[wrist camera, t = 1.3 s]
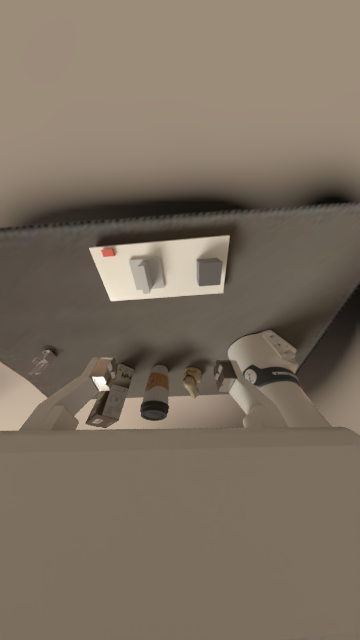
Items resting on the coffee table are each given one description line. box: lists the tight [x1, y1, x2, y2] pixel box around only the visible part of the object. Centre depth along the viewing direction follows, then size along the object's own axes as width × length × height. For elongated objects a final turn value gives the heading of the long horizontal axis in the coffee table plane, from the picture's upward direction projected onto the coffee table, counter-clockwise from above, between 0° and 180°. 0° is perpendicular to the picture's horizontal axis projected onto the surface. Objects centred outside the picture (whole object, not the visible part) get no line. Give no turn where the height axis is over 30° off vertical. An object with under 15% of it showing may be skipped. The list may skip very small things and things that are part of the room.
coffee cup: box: [140, 365, 169, 421], centre depth 44 cm, size 8×8×15 cm
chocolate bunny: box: [183, 367, 202, 399], centre depth 47 cm, size 6×8×10 cm
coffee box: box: [86, 364, 134, 428], centre depth 44 cm, size 9×6×16 cm
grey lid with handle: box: [129, 257, 164, 294], centre depth 26 cm, size 6×6×4 cm
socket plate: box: [89, 235, 230, 301], centre depth 28 cm, size 26×11×3 cm, turn 94°
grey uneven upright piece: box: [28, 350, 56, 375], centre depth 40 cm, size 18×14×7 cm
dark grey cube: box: [196, 258, 223, 286], centre depth 25 cm, size 4×4×4 cm
